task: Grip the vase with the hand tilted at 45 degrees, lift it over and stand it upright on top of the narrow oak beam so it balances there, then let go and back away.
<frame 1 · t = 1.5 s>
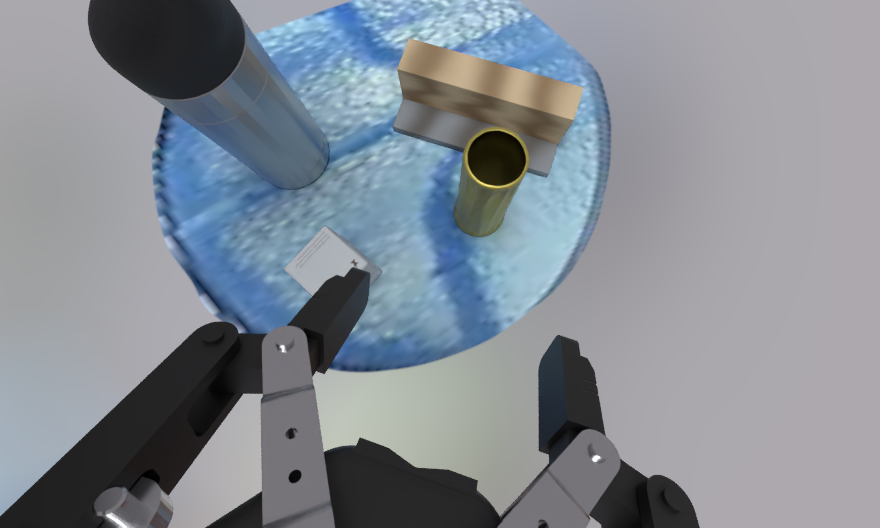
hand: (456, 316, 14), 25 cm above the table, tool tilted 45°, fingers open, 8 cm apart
skincare box: (348, 274, 39), on the table
vase: (478, 213, 40), on the table
ridge: (483, 111, 41), on the table
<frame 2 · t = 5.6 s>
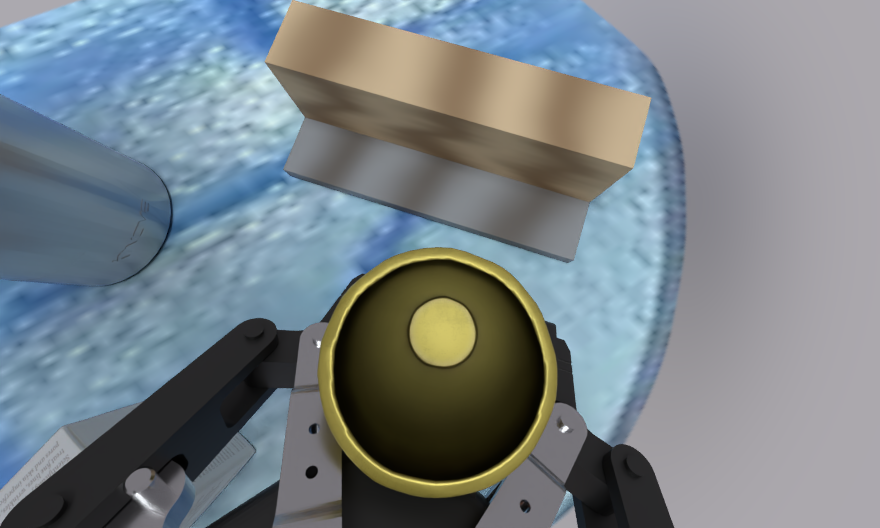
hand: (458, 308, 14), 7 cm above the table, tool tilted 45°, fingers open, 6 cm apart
skincare box: (194, 453, 21), on the table
vase: (442, 331, 21), on the table, touching gripper
ridge: (451, 139, 23), on the table
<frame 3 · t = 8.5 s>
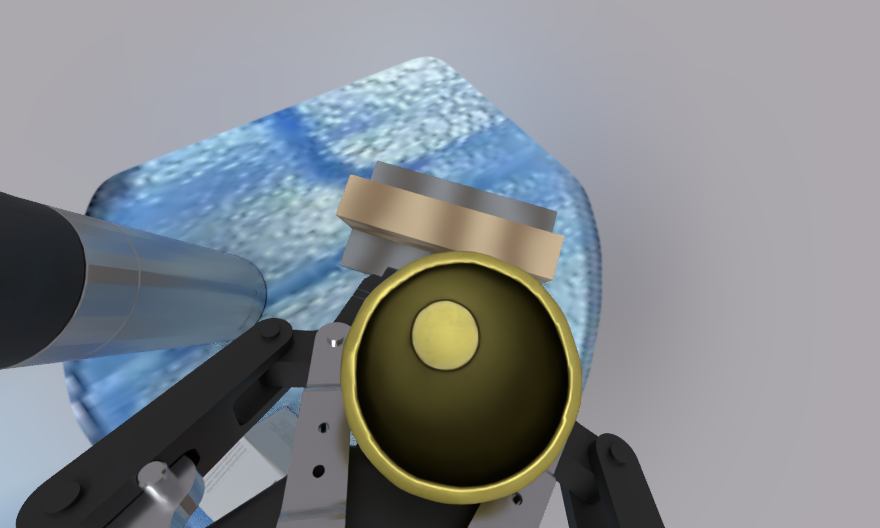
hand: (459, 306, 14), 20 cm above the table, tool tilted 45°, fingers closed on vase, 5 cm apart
skincare box: (288, 449, 32), on the table
vase: (444, 334, 21), point 12 cm above the table, touching gripper
ridge: (448, 240, 35), on the table
when the fingers open (15 cm above the table, at t = 10.9 s): vase drops 1 cm, resting on ridge.
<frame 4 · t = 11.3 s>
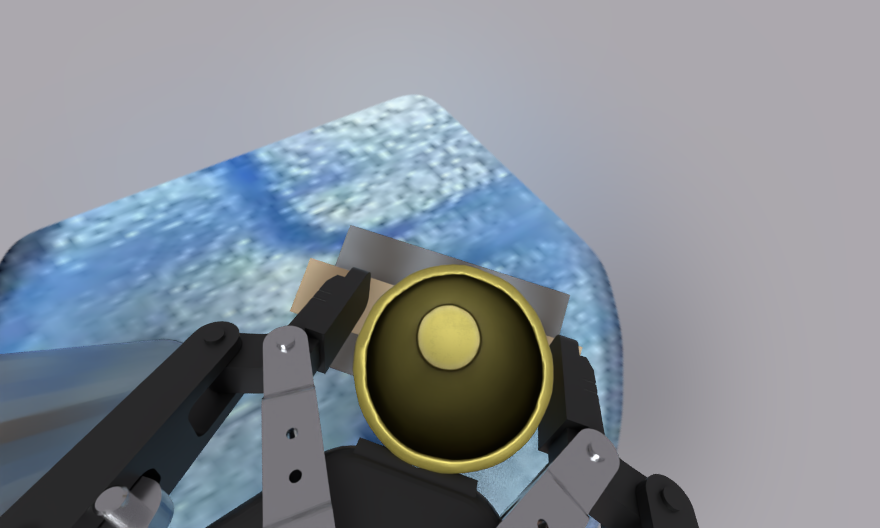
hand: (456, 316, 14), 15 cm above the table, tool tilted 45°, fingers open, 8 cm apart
vase: (448, 336, 23), point 6 cm above the table, touching ridge
ridge: (436, 325, 28), on the table
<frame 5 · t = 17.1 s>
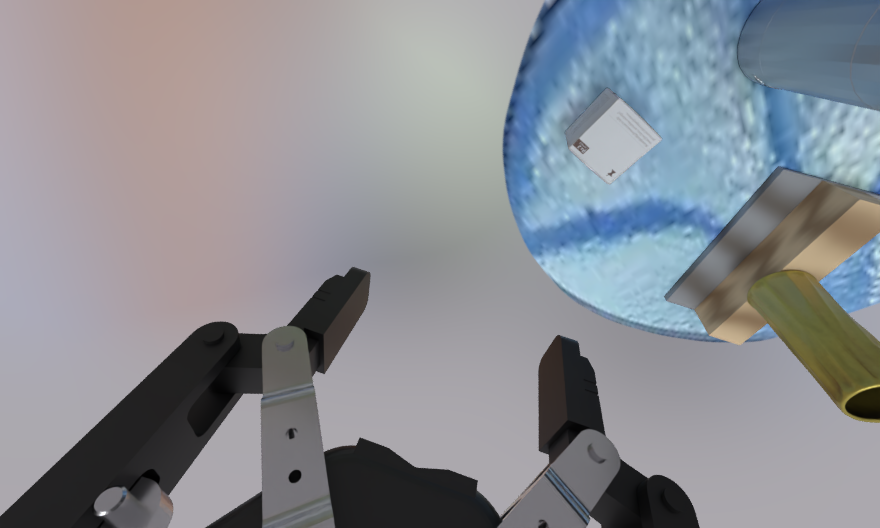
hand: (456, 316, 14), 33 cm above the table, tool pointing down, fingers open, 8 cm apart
skincare box: (601, 127, 38), on the table
vase: (779, 290, 37), point 6 cm above the table, touching ridge
ridge: (760, 255, 41), on the table
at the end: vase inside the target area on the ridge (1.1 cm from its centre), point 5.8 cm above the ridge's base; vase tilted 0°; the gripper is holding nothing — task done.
